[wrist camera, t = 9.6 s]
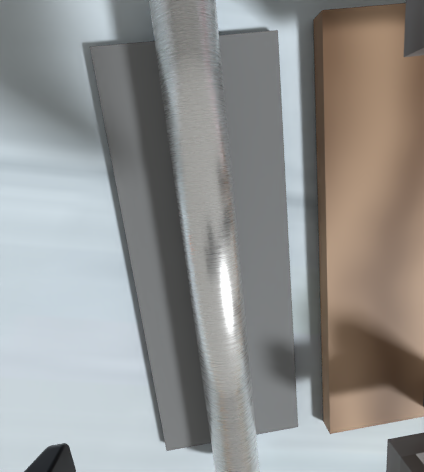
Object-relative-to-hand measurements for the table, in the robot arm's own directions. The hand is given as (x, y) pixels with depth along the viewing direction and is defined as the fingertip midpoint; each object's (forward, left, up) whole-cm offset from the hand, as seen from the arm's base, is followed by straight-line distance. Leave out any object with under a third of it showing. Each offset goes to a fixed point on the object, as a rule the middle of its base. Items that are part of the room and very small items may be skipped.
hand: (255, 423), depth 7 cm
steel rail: (0, 0, -10) cm, 10 cm away
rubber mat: (0, 0, -11) cm, 11 cm away
